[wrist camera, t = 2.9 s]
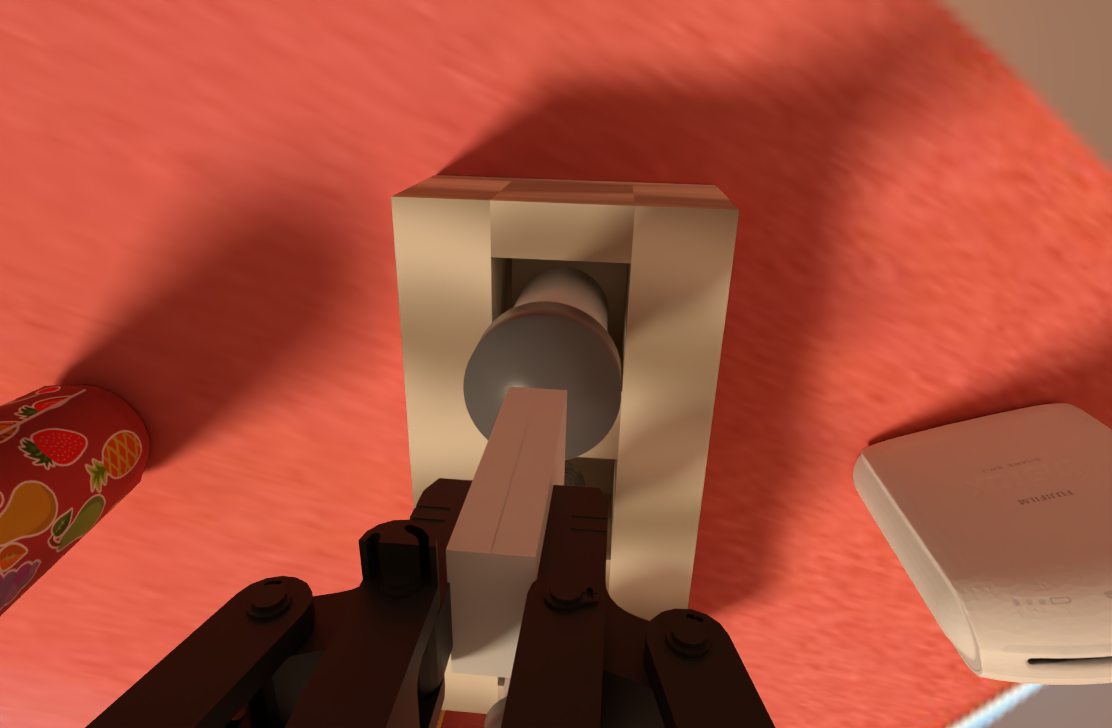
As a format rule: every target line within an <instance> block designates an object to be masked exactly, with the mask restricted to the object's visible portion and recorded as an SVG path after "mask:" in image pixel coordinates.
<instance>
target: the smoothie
mask: <svg viewBox="0 0 1112 728" xmlns="http://www.w3.org/2000/svg"><path fill="white" fill-rule="evenodd" d="M149 453H150V442H149V435H148V433H147V430H146V428H145V425H144V423H143V421H142V420H141V418H140V417H139V416H138V414H137V413H136V412H135V411H134V409H133V408H132V407H131V406H130V405H128V404H127V403H126V402H125V401H124V400H122V399H121V398H120V397H119V396H117V395H115V394H113V393H111V392H109V391H107V390H105V389H103V388H99V387H95V386H90V385H74V386H68V385H54V386H44V387H42V388H40V389H38V390H36V391H33V392H31V393H29V394H27V395H24V396H22V397H20V398H17V399H15V400H13V401H11V402H8V403H6V404H4V405H2V406H0V616H1V615H2V614H3V613H4V612H5V611H6V610H7V609H8V608H9V607H10V606H11V605H12V604H13V603H14V602H15V601H17V600H18V599H19V598H20V597H21V596H22V595H23V594H24V593H25V592H26V591H27V590H28V589H29V588H30V587H31V586H32V585H33V584H34V583H35V582H36V581H37V580H38V579H39V578H41V577H42V576H43V575H44V574H45V573H46V572H47V571H48V570H49V569H50V568H51V567H52V566H53V565H54V564H55V563H56V562H57V561H58V560H59V559H60V558H61V557H62V556H63V555H65V554H66V553H67V552H68V551H69V550H70V549H71V548H72V547H73V546H74V545H75V544H76V543H77V542H78V541H79V540H80V539H81V538H82V537H83V536H84V535H85V534H86V533H88V532H89V531H90V530H91V529H92V528H93V527H94V526H95V525H96V524H97V523H98V522H99V521H100V520H101V519H102V518H103V517H104V516H105V515H106V514H107V513H108V512H109V511H110V510H112V509H113V508H114V507H115V506H116V505H117V504H118V503H119V502H120V501H121V500H122V499H123V498H124V497H125V496H126V495H127V494H128V493H129V492H130V491H131V490H132V489H133V488H134V487H135V486H136V485H137V484H138V483H139V482H140V480H141V477H142V474H143V471H144V468H145V464H146V462H147V459H148V456H149Z"/></svg>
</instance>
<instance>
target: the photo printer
mask: <svg viewBox="0 0 1112 728" xmlns="http://www.w3.org/2000/svg"><path fill="white" fill-rule="evenodd" d="M853 481H854V485H855V488H856V490H857V492H858V493H859V495H860V497H861V498H862V500H863V502H864V503H865V505H866V507H867V508H868V510H869V511H870V513H871V515H872V516H873V518H874V520H875V521H876V523H877V525H878V526H879V528H880V530H881V531H882V533H883V534H884V536H885V538H886V539H887V541H888V543H889V544H890V546H891V547H892V549H893V551H894V552H895V554H896V556H897V557H898V559H899V560H900V562H901V564H902V565H903V567H904V569H905V570H906V572H907V574H908V575H909V577H910V578H911V580H912V582H913V583H914V585H915V587H916V588H917V590H918V591H919V593H920V595H921V596H922V598H923V600H924V601H925V603H926V605H927V606H928V608H929V609H930V611H931V613H932V614H933V616H934V618H935V619H936V621H937V623H938V624H939V626H940V627H941V629H942V630H943V632H944V633H945V635H946V636H947V637H948V638H949V640H950V641H951V642H952V643H953V645H954V646H955V648H956V649H957V651H958V652H959V654H960V656H961V657H962V659H963V660H964V662H965V663H966V664H967V665H968V667H969V668H970V669H971V670H972V671H973V672H974V673H975V674H977V675H978V676H980V677H984V678H990V679H996V680H1002V681H1010V682H1019V683H1031V684H1053V685H1058V684H1059V685H1062V684H1064V685H1067V684H1068V685H1072V684H1073V685H1074V684H1075V685H1076V684H1099V683H1112V430H1111V429H1110V428H1108V427H1107V426H1106V425H1104V424H1103V423H1101V422H1100V421H1098V420H1097V419H1095V418H1093V417H1092V416H1091V415H1089V414H1087V413H1086V412H1084V411H1083V410H1081V409H1080V408H1078V407H1076V406H1074V405H1072V404H1068V403H1055V404H1044V405H1038V406H1032V407H1027V408H1022V409H1017V410H1011V411H1006V412H1002V413H997V414H992V415H988V416H983V417H979V418H974V419H970V420H966V421H961V422H957V423H953V424H948V425H944V426H940V427H936V428H931V429H928V430H924V431H920V432H916V433H912V434H908V435H904V436H900V437H896V438H893V439H889V440H886V441H883V442H879V443H876V444H874V445H871V446H869V447H866V448H864V449H863V450H862V451H861V455H860V456H859V457H858V459H857V461H856V463H855V466H854V470H853Z"/></svg>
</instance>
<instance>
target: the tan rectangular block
mask: <svg viewBox="0 0 1112 728" xmlns="http://www.w3.org/2000/svg"><path fill="white" fill-rule="evenodd" d="M391 201H392V215H393V229H394V242H395V256H396V270H397V284H398V297H399V311H400V325H401V338H402V352H403V366H404V379H405V393H406V407H407V420H408V434H409V448H410V462H411V475H412V489H413V503H414V508H416V504H417V502H418V500H419V498H420V496H421V494H422V492H423V490H425V489H426V488H427V487H428V486H430V485H431V484H432V483H434V482H435V481H436V480H437V479H439V478H446V479H460V480H473V479H474V476H475V473H476V471H477V468H478V466H479V463H480V460H481V458H482V455H483V453H484V450H485V448H486V445H487V442H488V440H487V439H486V438H485V437H484V436H483V435H482V434H481V433H480V431H479V430H478V429H477V427H476V426H475V425H474V423H473V421H472V419H471V417H470V415H469V413H468V410H467V408H466V404H465V400H464V392H463V382H464V375H465V370H466V367H467V364H468V361H469V359H470V357H471V356H472V354H473V352H474V350H475V348H476V346H477V344H478V343H479V341H480V339H481V337H482V335H483V334H484V332H485V331H486V329H487V328H488V327H489V326H490V324H491V323H492V322H493V321H494V320H495V319H497V318H498V317H499V316H500V315H502V314H503V313H505V312H506V311H508V310H510V309H512V308H514V306H515V304H516V302H517V300H518V298H519V295H520V293H521V291H522V290H523V288H524V286H525V285H526V283H527V282H528V281H529V280H530V279H531V278H532V277H533V276H535V275H536V274H538V273H539V272H541V271H544V270H546V269H549V268H554V267H570V268H574V269H578V270H580V271H582V272H584V273H586V274H588V275H589V276H591V277H592V278H593V279H594V280H595V281H596V282H597V283H598V284H599V285H600V287H601V288H602V290H603V292H604V294H605V296H606V299H607V303H608V329H607V332H608V333H609V335H610V336H611V338H612V340H613V341H614V344H615V346H616V348H617V351H618V354H619V357H620V363H621V404H620V409H619V413H618V416H617V419H616V421H615V423H614V425H613V427H612V428H611V430H610V431H609V433H608V434H607V435H606V436H605V438H604V439H603V440H602V441H601V442H600V443H599V444H597V445H596V446H595V447H594V448H592V449H591V450H589V451H588V452H586V453H584V454H582V455H580V456H578V457H575V458H572V459H569V460H565V461H566V462H569V463H571V464H573V465H574V466H576V467H577V468H578V469H579V470H580V472H581V473H582V475H583V477H584V481H585V487H592V488H600V490H601V491H602V493H603V495H604V496H605V498H606V499H607V501H608V528H607V555H606V589H607V591H608V593H609V595H610V597H611V599H612V600H613V601H614V602H615V603H616V604H617V605H618V606H619V607H621V608H622V609H624V610H625V611H626V612H628V613H631V614H633V615H635V616H637V617H640V618H643V619H646V620H648V621H651V619H653V618H654V617H655V616H657V615H658V614H659V613H661V612H663V611H667V610H671V609H675V608H677V609H688V603H689V595H690V587H691V580H692V572H693V564H694V556H695V549H696V541H697V533H698V526H699V518H700V510H701V503H702V495H703V487H704V480H705V472H706V464H707V456H708V449H709V441H710V433H711V426H712V418H713V410H714V403H715V395H716V387H717V380H718V372H719V364H720V356H721V349H722V341H723V333H724V326H725V318H726V310H727V303H728V295H729V287H730V280H731V272H732V264H733V256H734V249H735V241H736V233H737V226H738V218H739V209H738V208H737V207H736V206H735V205H734V204H733V203H732V201H731V200H730V199H729V198H728V197H727V196H726V195H725V194H724V193H723V192H722V191H721V190H720V189H719V188H718V187H717V186H716V185H699V184H672V183H644V182H616V181H588V180H560V179H532V178H504V177H476V176H448V175H434V176H432V177H430V178H428V179H426V180H424V181H422V182H420V183H418V184H416V185H414V186H412V187H410V188H408V189H406V190H404V191H402V192H400V193H397V194H395V195H393V196H391ZM444 675H445V698H444V702H443V705H442V709H441V710H450V711H460V712H471V713H481V714H487V713H488V711H489V710H490V709H491V707H492V706H493V705H494V704H495V703H497V702H498V701H499V700H501V699H502V694H503V689H504V684H505V678H503V677H493V676H482V675H472V674H462V673H452V666H451V654H450V657H449V660H448V664H447V667H446V670H445V673H444Z"/></svg>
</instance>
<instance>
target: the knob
mask: <svg viewBox="0 0 1112 728" xmlns="http://www.w3.org/2000/svg"><path fill="white" fill-rule="evenodd" d="M607 329H608V303H607V299H606V296H605V294H604V292H603V290H602V288H601V287H600V285H599V284H598V283H597V282H596V281H595V280H594V279H593V278H592V277H591V276H589V275H588V274H586V273H584V272H582V271H580V270H578V269H574V268H570V267H554V268H549V269H546V270H544V271H541V272H539V273H538V274H536V275H535V276H533V277H532V278H531V279H530V280H529V281H528V282H527V283H526V285H525V286H524V288H523V290H522V291H521V293H520V295H519V298H518V300H517V302H516V304H515V306H514V308H512V309H510V310H508V311H506V312H505V313H503V314H502V315H500V316H499V317H498V318H497V319H495V320H494V321H493V322H492V323H491V324H490V326H489V327H488V328H487V329H486V331H485V332H484V334H483V335H482V337H481V339H480V341H479V343H478V344H477V346H476V348H475V350H474V352H473V354H472V356H471V357H470V359H469V361H468V364H467V367H466V370H465V375H464V382H463V392H464V400H465V404H466V408H467V410H468V413H469V415H470V417H471V419H472V421H473V423H474V425H475V426H476V427H477V429H478V430H479V431H480V433H481V434H482V435H483V436H484V437H485V438H486V439H487V440H489V437H490V435H491V432H492V430H493V427H494V424H495V422H496V419H497V417H498V414H499V412H500V409H501V406H502V404H503V401H504V399H505V396H506V394H507V391H508V388H509V387H524V388H540V389H556V390H567V414H566V444H565V460H569V459H572V458H575V457H578V456H580V455H582V454H584V453H586V452H588V451H589V450H591V449H592V448H594V447H595V446H596V445H597V444H599V443H600V442H601V441H602V440H603V439H604V438H605V436H606V435H607V434H608V433H609V431H610V430H611V428H612V427H613V425H614V423H615V421H616V419H617V416H618V413H619V409H620V404H621V363H620V357H619V354H618V351H617V348H616V346H615V344H614V341H613V340H612V338H611V336H610V335H609V333H608V332H607Z"/></svg>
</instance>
